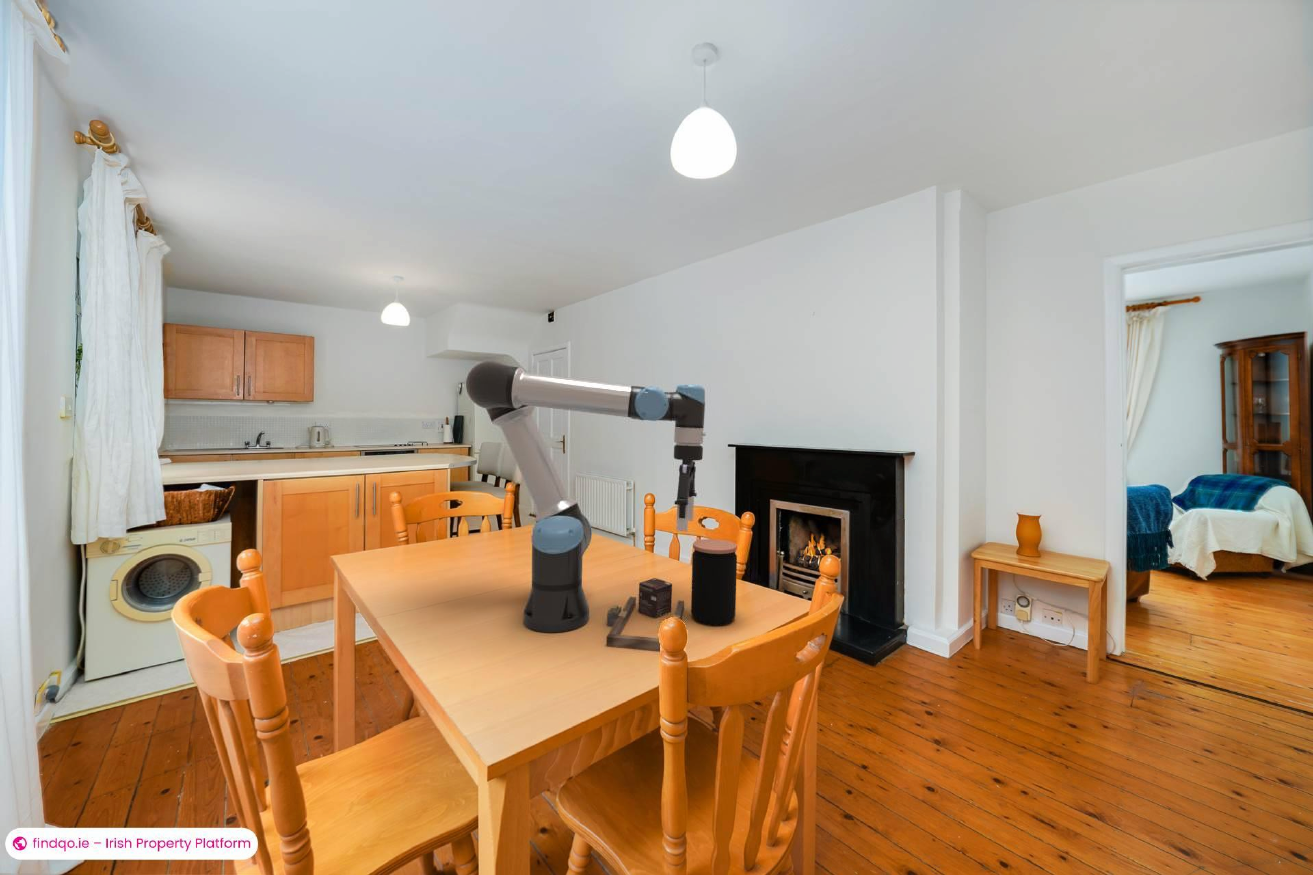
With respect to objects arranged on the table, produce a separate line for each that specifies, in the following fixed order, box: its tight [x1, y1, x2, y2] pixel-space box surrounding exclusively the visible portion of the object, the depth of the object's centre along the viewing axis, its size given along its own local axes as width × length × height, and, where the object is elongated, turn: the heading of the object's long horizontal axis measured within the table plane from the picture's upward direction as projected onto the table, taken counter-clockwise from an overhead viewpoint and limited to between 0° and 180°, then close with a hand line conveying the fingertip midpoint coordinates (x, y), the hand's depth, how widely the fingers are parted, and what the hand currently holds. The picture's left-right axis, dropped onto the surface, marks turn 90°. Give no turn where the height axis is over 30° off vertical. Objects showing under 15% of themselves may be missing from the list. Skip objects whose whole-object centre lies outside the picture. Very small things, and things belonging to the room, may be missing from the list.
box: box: [638, 577, 673, 619], centre depth 123 cm, size 6×6×7 cm
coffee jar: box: [690, 538, 738, 627], centre depth 120 cm, size 11×11×18 cm
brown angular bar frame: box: [606, 596, 685, 652], centre depth 115 cm, size 17×24×4 cm
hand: (685, 525), depth 130 cm, fingers open, 13 cm apart
